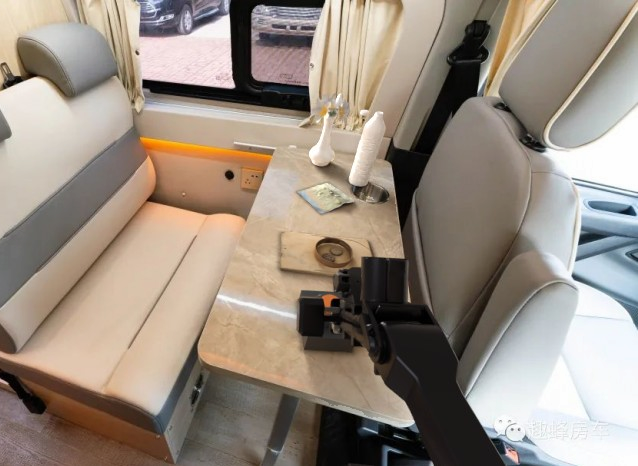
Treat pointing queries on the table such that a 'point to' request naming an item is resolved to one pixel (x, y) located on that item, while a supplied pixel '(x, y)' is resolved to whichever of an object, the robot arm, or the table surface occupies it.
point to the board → (321, 253)
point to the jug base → (325, 331)
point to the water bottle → (367, 149)
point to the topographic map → (325, 197)
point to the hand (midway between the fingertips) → (339, 310)
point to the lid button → (328, 300)
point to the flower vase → (327, 126)
